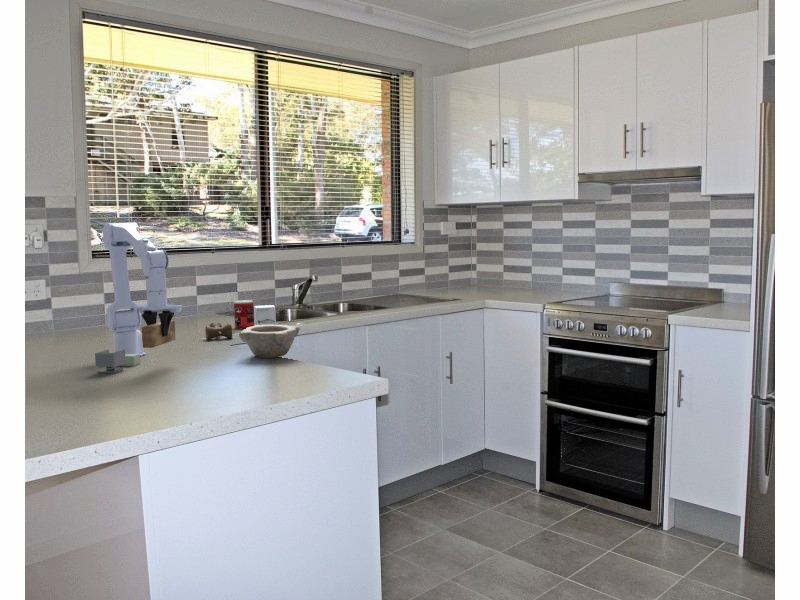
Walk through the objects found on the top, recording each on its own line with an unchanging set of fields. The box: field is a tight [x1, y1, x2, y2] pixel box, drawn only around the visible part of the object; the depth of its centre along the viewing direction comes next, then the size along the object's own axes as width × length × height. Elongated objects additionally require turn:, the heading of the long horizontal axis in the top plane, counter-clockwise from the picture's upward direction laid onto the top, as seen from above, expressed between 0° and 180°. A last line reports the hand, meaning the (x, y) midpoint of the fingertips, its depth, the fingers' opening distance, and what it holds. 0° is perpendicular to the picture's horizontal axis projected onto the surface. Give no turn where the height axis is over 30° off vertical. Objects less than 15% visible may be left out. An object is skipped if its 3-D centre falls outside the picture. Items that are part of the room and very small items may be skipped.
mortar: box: [238, 324, 301, 359], centre depth 230 cm, size 17×17×9 cm
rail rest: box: [118, 354, 141, 367], centre depth 221 cm, size 4×5×3 cm
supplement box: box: [254, 304, 277, 326], centre depth 261 cm, size 7×7×13 cm
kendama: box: [204, 321, 233, 341], centre depth 270 cm, size 6×10×20 cm
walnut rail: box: [140, 320, 176, 349], centre depth 213 cm, size 14×3×6 cm, turn 170°
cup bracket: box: [94, 349, 126, 375], centre depth 211 cm, size 6×6×6 cm
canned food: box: [233, 299, 255, 329], centre depth 295 cm, size 8×8×11 cm
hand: (159, 336), depth 213 cm, fingers closed on walnut rail, 3 cm apart
